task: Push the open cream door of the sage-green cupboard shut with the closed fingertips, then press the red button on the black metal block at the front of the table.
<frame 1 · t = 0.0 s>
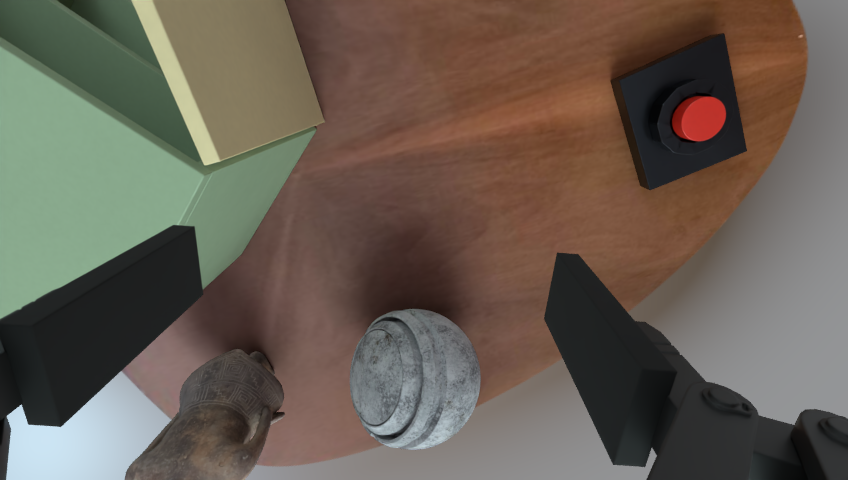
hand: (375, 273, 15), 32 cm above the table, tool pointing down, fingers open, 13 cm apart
button block: (673, 115, 44), on the table
clay figurine: (252, 365, 57), on the table
decorative orb: (417, 338, 55), on the table
button: (698, 118, 40), point 4 cm above the table, slide at 0.1 cm
cupboard: (171, 126, 46), on the table
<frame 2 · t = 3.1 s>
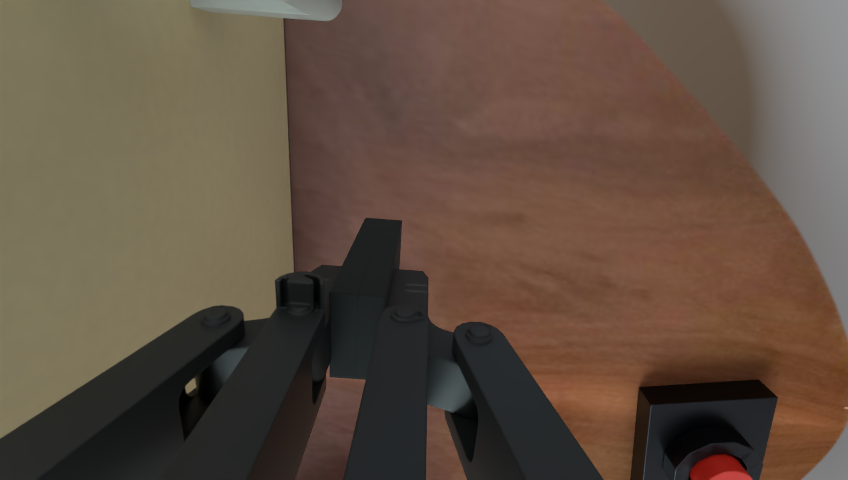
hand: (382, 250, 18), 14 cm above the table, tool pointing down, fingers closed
door: (259, 231, 20), point 12 cm above the table, hinge at 40.0°
button block: (690, 436, 38), on the table
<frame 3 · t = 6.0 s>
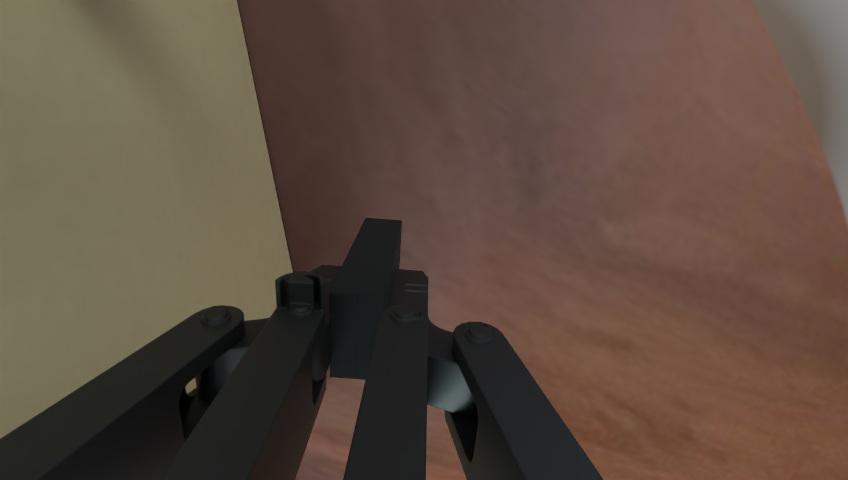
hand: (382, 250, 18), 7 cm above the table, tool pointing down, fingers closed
door: (224, 308, 12), point 12 cm above the table, hinge at 14.2°, touching hand
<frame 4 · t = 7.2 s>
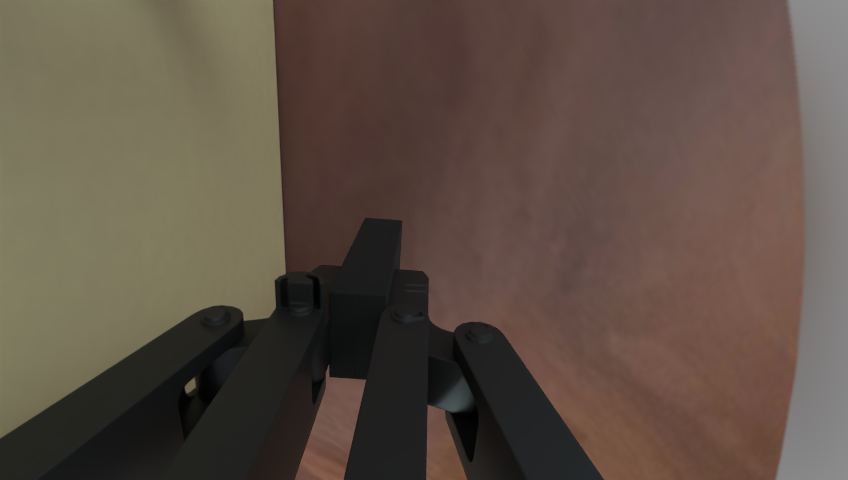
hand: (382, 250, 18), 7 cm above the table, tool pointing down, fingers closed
door: (230, 301, 12), point 12 cm above the table, hinge at 0.0°, touching hand
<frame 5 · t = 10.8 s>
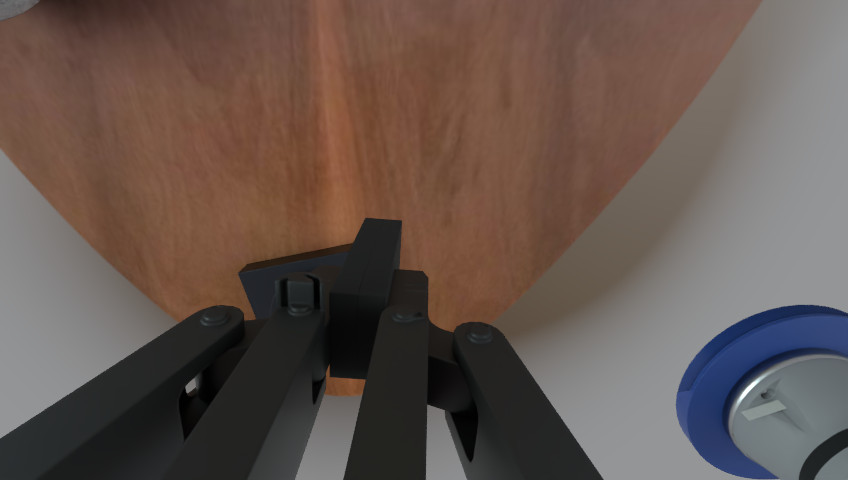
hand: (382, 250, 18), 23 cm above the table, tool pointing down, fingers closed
button block: (316, 296, 45), on the table
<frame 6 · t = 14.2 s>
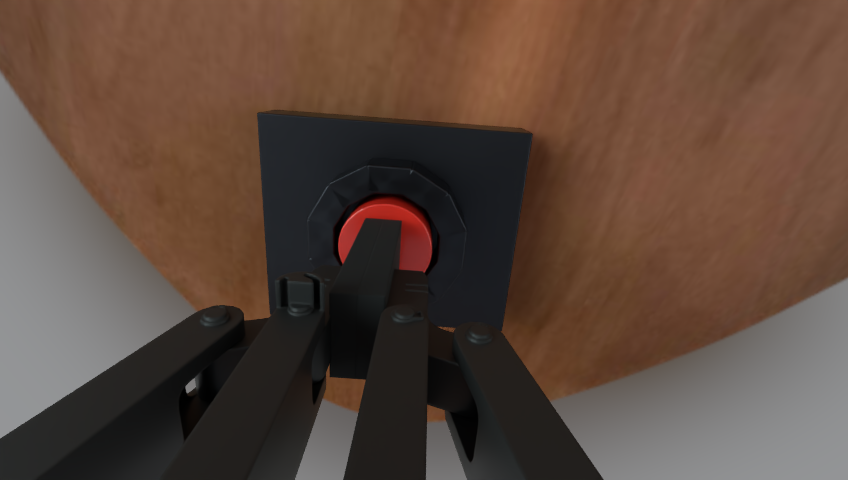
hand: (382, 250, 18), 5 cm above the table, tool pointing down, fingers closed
button block: (394, 217, 22), on the table
button: (387, 242, 19), point 4 cm above the table, slide at -0.8 cm, touching gripper
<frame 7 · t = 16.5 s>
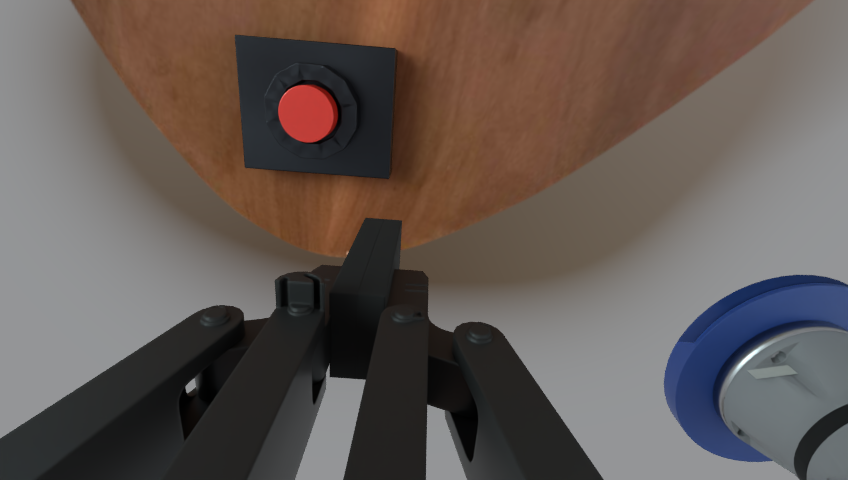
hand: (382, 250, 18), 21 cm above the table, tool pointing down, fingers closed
button block: (322, 108, 35), on the table
button: (308, 113, 31), point 4 cm above the table, slide at 0.1 cm
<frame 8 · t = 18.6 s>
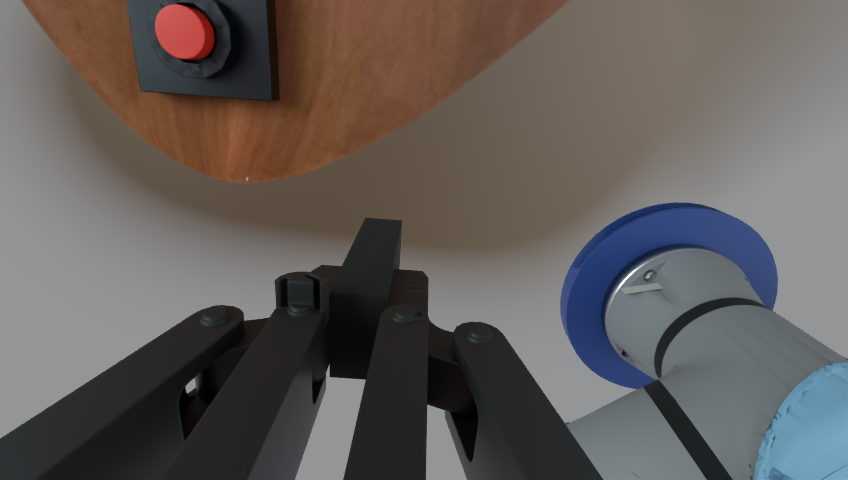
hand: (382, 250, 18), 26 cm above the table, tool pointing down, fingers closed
button block: (212, 38, 39), on the table
button: (185, 33, 35), point 4 cm above the table, slide at 0.1 cm
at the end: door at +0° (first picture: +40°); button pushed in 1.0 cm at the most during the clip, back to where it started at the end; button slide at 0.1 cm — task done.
